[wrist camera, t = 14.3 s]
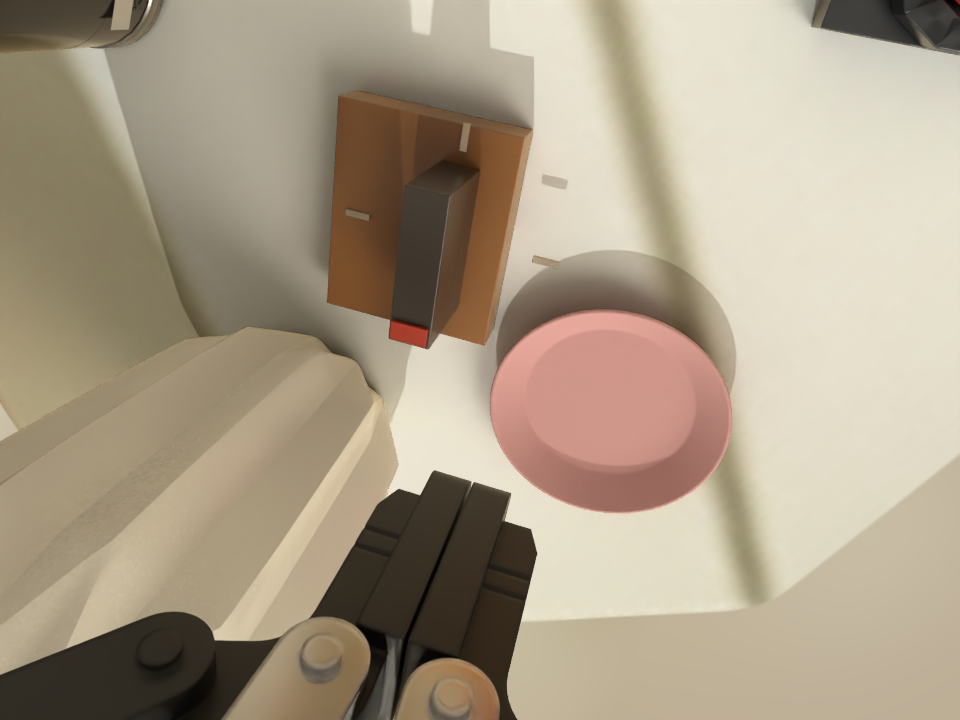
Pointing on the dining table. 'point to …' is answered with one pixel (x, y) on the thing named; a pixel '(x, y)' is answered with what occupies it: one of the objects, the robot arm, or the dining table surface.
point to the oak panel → (380, 190)
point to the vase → (190, 493)
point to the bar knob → (432, 251)
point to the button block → (895, 21)
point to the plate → (611, 411)
